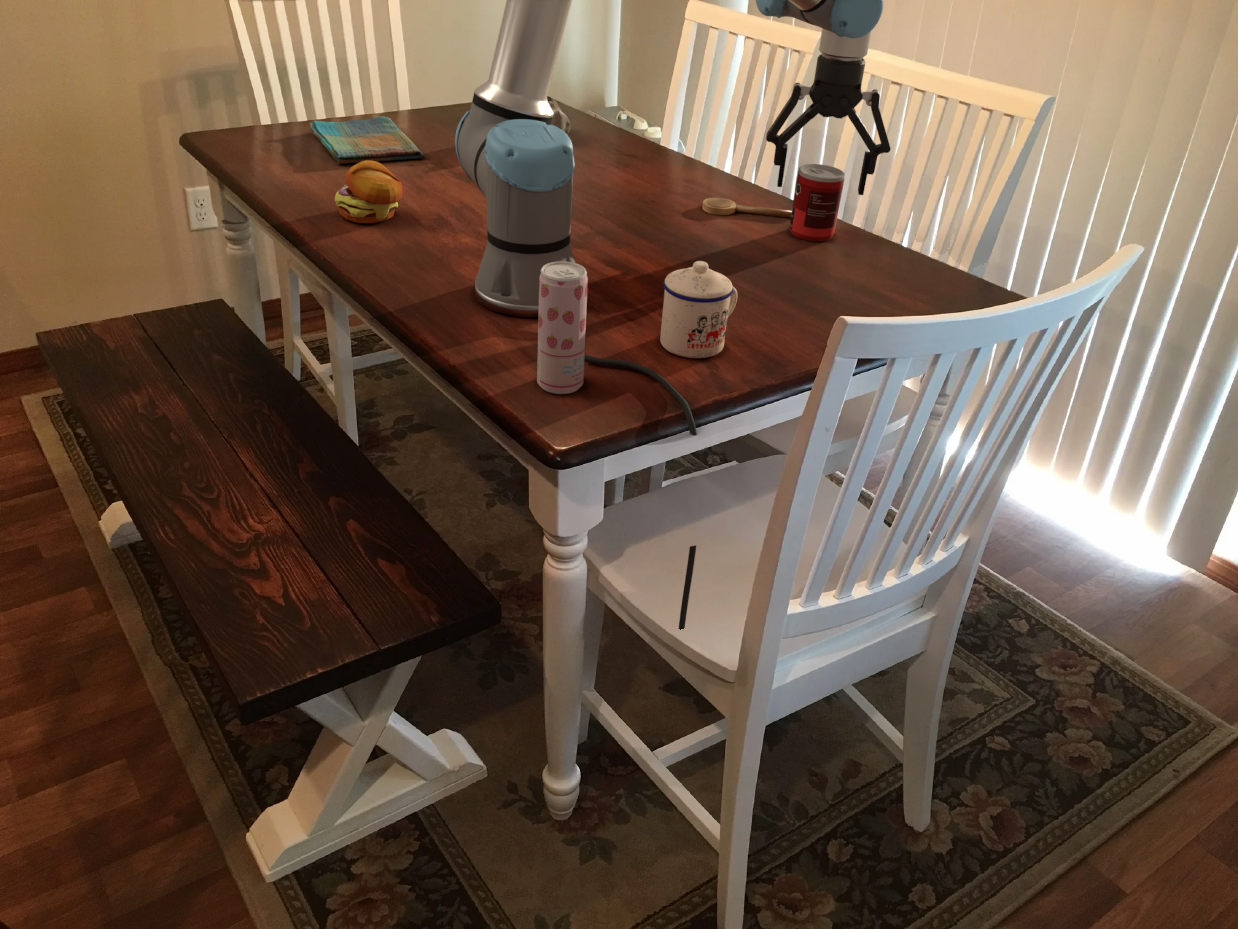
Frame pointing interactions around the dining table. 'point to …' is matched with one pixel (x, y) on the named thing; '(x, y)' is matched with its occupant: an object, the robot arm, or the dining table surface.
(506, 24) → the robot arm
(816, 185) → the canned food
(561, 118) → the ceramic sculpture
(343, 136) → the dish towel
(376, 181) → the cheeseburger
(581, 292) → the beverage can
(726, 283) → the teacup with lid
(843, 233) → the dining table surface
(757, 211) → the spoon
